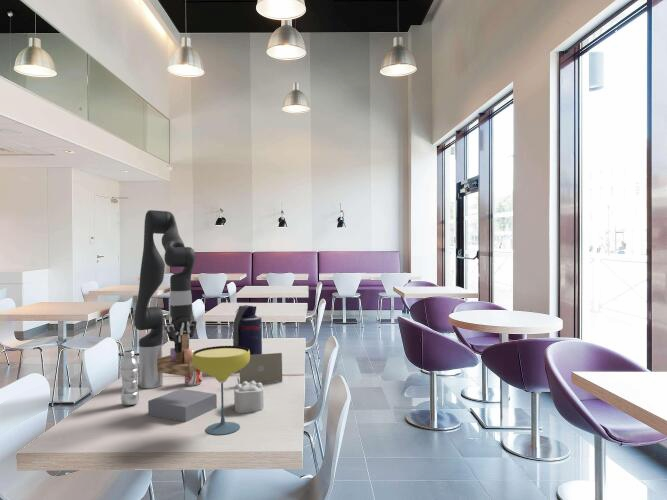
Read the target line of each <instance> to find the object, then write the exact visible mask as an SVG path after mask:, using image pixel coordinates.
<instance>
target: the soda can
mask: <svg viewBox="0 0 667 500" xmlns="http://www.w3.org/2000/svg"><path fill="white" fill-rule="evenodd" d="M202 382H203V372H201V371H194V370H193V376H191V377H187V376H184V384H185V385H186V386H188V387H189V386H192V387H193V386H194V387H195V386H199V385H200V384H201V383H202Z"/></svg>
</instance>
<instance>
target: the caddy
mask: <svg viewBox="0 0 667 500" xmlns="http://www.w3.org/2000/svg"><path fill="white" fill-rule="evenodd" d="M177 338H178V335H177ZM186 349H188V334H187V333H183V335H182V336H181V352H180V353H176V362H171V359H170V354H169V355H165V356H162V358H158V359H157V372H158V373H163V374H167V375H173V376H174V375H175V376H180V377H181V376H183V377H185V376H187V377H191V376H193V370H194V371H199V370H198V369H197V368H195V367H194V365H193V362H192V361H191V362H188V364H185V363H184V350H186Z"/></svg>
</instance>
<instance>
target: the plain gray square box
mask: <svg viewBox="0 0 667 500" xmlns="http://www.w3.org/2000/svg"><path fill="white" fill-rule="evenodd" d="M147 403H148V405H147V409H148V416H152V417H156V418H162V419H168V420H173V421H179V422H185V423H187V422H188V421H191V420H193V419H195V418H197V417H200V416H202V415H204V414H206V413H209V412H211V411H213V410H215V409H217V407H218V405H217V403H218V401H217V393H214V392H212V393H211V392H207V391H201V390H200V391H199V390H191V389H185V388H180V389H179V388H178V389H177V390H173V391H170V392H168V393H166V394H163V395H160V396H158V397H155V398H152V399H150V400H148V401H147Z"/></svg>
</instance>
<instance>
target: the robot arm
mask: <svg viewBox="0 0 667 500" xmlns="http://www.w3.org/2000/svg"><path fill="white" fill-rule="evenodd" d="M143 225H144V226H143V248H142V249H143V250H142V257H141V264H140V272H139V286H138V287H139V288H138V295H137V301H136V304H135V310H134V315H133V321H134V322H133V325H134V327H135V329H136V330H138V331H147V330H150V332H149V333H148V334H146V335H145V336H143V337H141V338H139V340H138V353H139V355H138V356H139V357H138V359H139V360H138V361H139V362H138V374H137V385H138V387H140V388H142V389H155V388H159V387H161V386H163V385H164V377H163V376H164V373H158V372H157V359H158V358H162V357H163V338H164V333H163V332H164V314H163V313H164V312H163V310H162V309H161V307H160V306H150V307H149V302H150V301H151V298H152V297H153V295H154V294H155V293H156V292H157V290H158V289H159V287H161V284H162V283H163V281H164V278H165V270H166V266H168V267H170V268H183V270H181V272H177V273H174V274H171V276H170V277H169V283H170V285H169V287H170V288H169V289H170V291H169V292H170V293H169V316H170V318H171V321H170V324H169V325H166V326H165V332H166V334H167V337H168V339H169V341H170V342H174V343H173V344H174V348H175V352H176V353H180V352H181V336H182V335H183V333H187V334H188V349H190V340H191V338H193V337H194V334H195V331H196V326H197V321H196V320H192V318H191V317H192V316H193V298H192V296H193V295H192V291H191V290H192V284H191V283H192V282H191V281H192V280H191V279H192V273H193V270H194V265H195V263H196V257H197V256H196V251H195V250H194V248H193V247H190V246H185V243H184V241H183V240H182V238H181V237H180V234H179V229H178V225H177V221H176V218H175V215H174V214H173V213H172V212H171V211H167V210H153V209H149V210H148V211H146V213H145V217H144V224H143ZM154 234H155V235H156V234H158V235H159V234H161V235H162V237H161V244H162V247H163V249H164V259H163V257H162V255H161V254H160V252H159V250H158V248H157V246H156V244H155V240H154ZM177 335H178V338H177Z"/></svg>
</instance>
